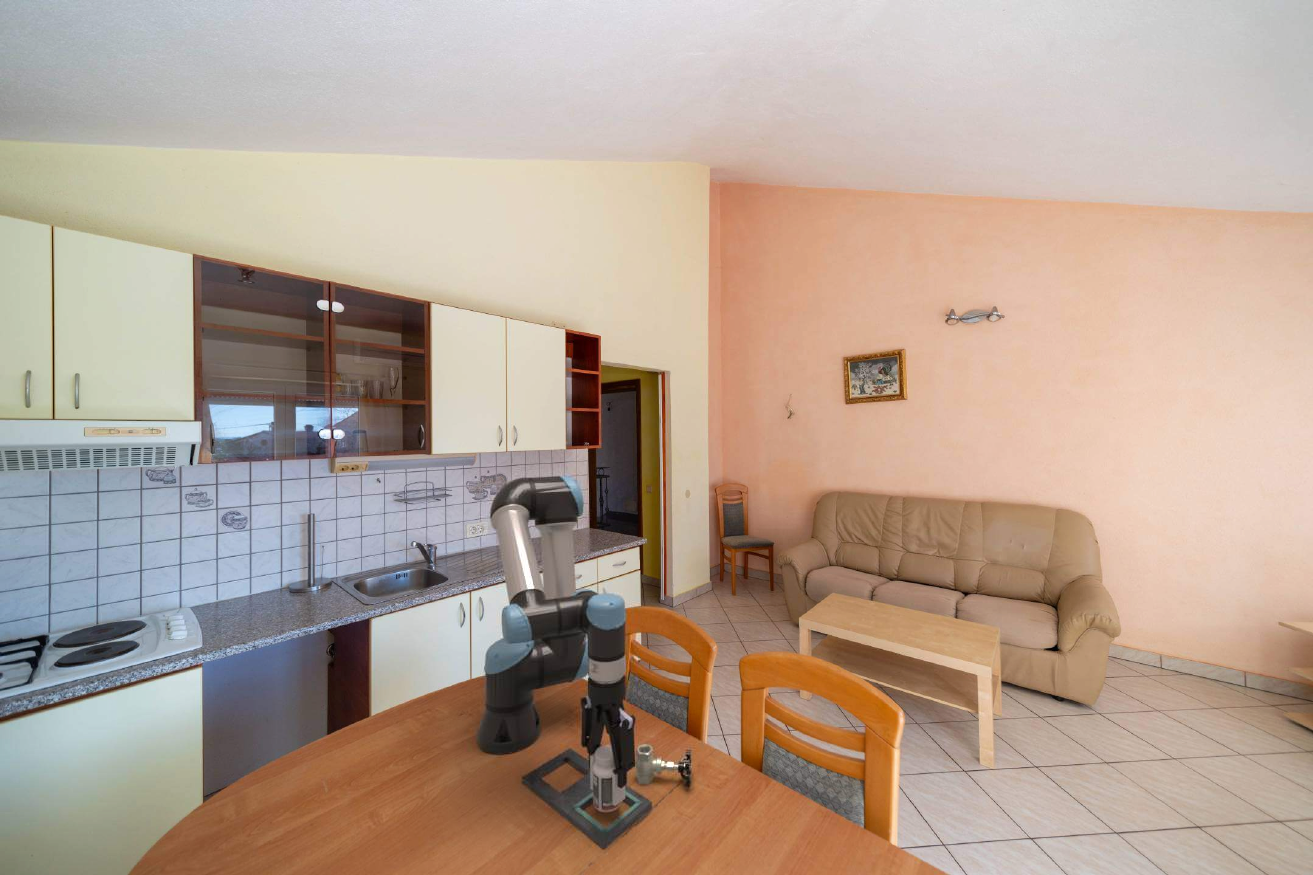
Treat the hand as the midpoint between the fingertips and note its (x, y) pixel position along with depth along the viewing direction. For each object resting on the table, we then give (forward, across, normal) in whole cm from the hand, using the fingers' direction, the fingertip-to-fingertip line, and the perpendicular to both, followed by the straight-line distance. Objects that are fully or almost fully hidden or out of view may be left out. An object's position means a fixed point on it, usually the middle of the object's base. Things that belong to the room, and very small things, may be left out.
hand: (607, 792), depth 95 cm
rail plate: (+4, -7, 0) cm, 8 cm away
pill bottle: (+2, 0, 0) cm, 2 cm away
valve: (+4, +3, +14) cm, 15 cm away
